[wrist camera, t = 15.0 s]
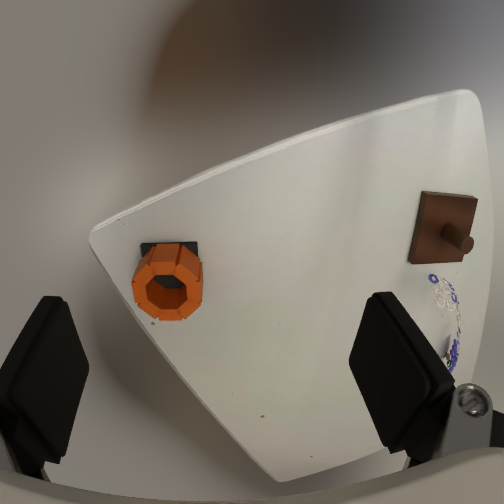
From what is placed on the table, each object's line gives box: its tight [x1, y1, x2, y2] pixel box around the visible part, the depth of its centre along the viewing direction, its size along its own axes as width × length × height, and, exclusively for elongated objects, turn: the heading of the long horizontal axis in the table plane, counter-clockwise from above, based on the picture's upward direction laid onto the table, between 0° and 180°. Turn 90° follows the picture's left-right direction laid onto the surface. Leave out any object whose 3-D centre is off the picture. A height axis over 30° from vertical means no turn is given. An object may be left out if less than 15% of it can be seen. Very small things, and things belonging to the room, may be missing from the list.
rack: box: [408, 191, 478, 264], centre depth 33 cm, size 9×9×6 cm
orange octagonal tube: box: [131, 244, 203, 320], centre depth 32 cm, size 7×7×4 cm
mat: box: [140, 242, 198, 289], centre depth 34 cm, size 6×6×1 cm
